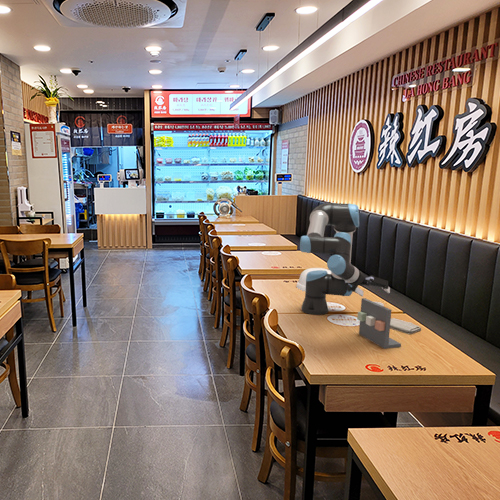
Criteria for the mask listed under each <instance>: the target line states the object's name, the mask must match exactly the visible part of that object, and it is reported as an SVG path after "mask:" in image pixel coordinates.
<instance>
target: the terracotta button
mask: <svg viewBox="0 0 500 500" xmlns="http://www.w3.org/2000/svg"><path fill="white" fill-rule="evenodd" d="M375 329H377V330H379V331H384V330H385V322H384V321H382V320H378V321H375Z"/></svg>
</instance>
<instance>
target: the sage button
mask: <svg viewBox="0 0 500 500" xmlns="http://www.w3.org/2000/svg"><path fill="white" fill-rule="evenodd" d="M366 316H367V313H365V312H363V311H362V312H361V311H357V316H356V319H357V320H358V321H359V322H360V321H366Z"/></svg>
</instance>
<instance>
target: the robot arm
mask: <svg viewBox="0 0 500 500" xmlns="http://www.w3.org/2000/svg"><path fill="white" fill-rule="evenodd" d="M326 226H333V230H334V231H335V233H334V235H333V237H331V236H330V237H329V236H325V235H324V234H325V230H326ZM359 227H360V212H359V206H358V205H357V204H356V203H353V204H352V203H341V202H340V203H338V202H337V203H336V202H333V203H332V202H326V203H322V204H320V205H317V206H316V207H315V208H314V209H313V210H312V211H311V213H310V214H309V226H308V230H307V233H306V235H302V236H300V240H299V250H300V252H302V253H306V254H320V255H321V254H322V255H323V254H324V255H331V256H330V257H329V258H328V260H327V263H326V266H327V269H328V270H330V271H331V274H328V273H327V271H323V270H317V271H311V272H308V273H307V276H306V291H305V292H304V293H305V294H304V298H303V301H302V304H301V307H300V308H301V309H300V311H301V312H303V313H305V314H308V315H317V316H318V315H319V316H321V315H326V314H328V312H329V308H328V307H329V306H328V303H327V299H326V298H327V296H328V295H329V296H341V297H350V296H351V295H352V294H353V293H355V294H357V295H359V296H360V297H364V291H363V289H361V288H360V287H358V286H368V287H370V286H372V287H378V288H381V289H382V290H384V292H386V293H387V294H390V293H391V287H390V286H389V280H386V279H384V278H380V277H378V276H374V275H372V274H370V275H369V277H367V276H366V275H364V273H363V272H362V271H361V270H359V268H357V267H356V266H354V265H353V264H352V263H351V262H352V261H351V260H352V247H353V246H352V245H353V234H354V233H355V232H356V231H357V228H359Z"/></svg>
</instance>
